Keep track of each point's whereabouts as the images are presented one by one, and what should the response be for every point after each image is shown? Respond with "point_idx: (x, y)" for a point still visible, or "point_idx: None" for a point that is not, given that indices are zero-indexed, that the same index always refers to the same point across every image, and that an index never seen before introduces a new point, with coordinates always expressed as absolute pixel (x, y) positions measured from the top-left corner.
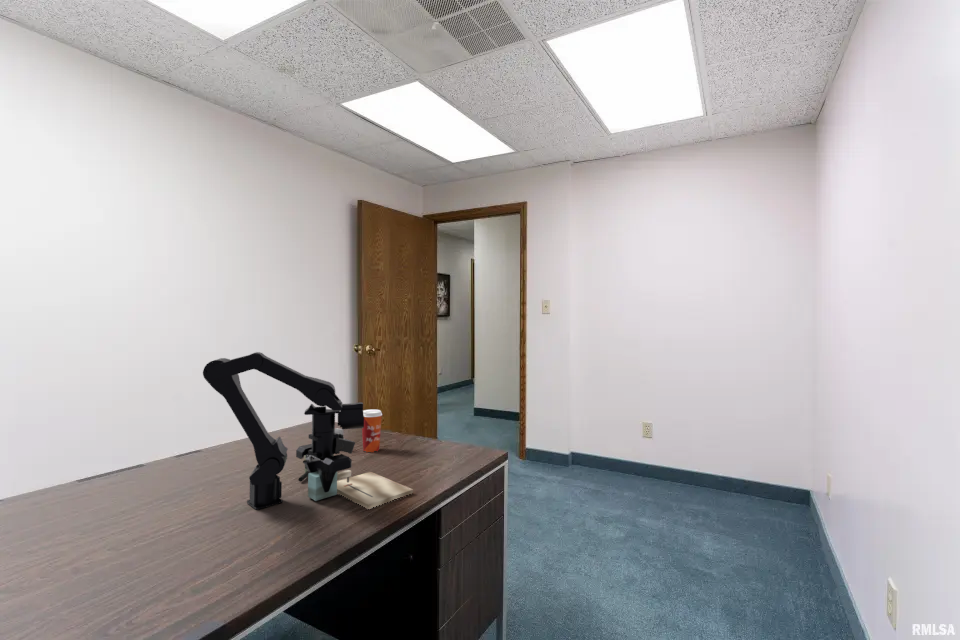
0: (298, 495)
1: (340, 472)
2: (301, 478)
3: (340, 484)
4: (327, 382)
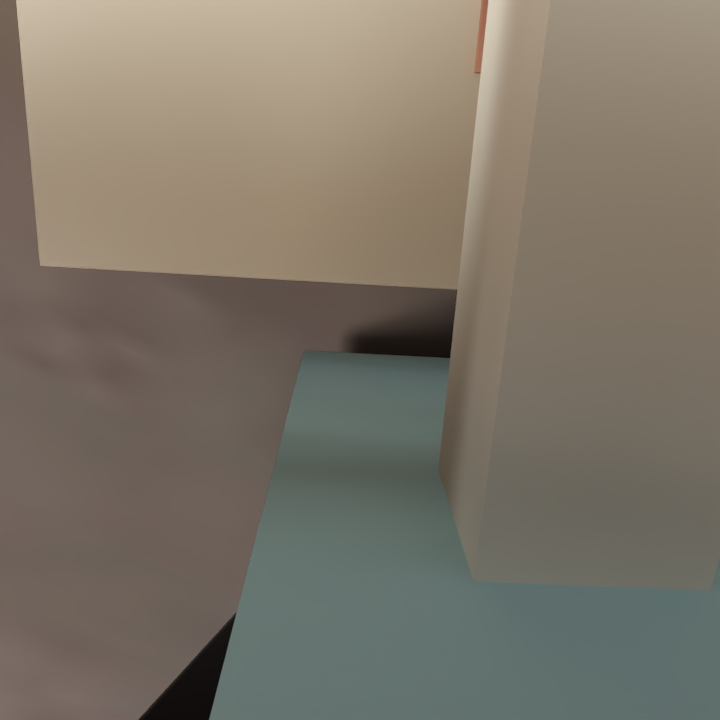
0: (71, 713)
1: (618, 170)
2: None
3: (314, 63)
4: None
